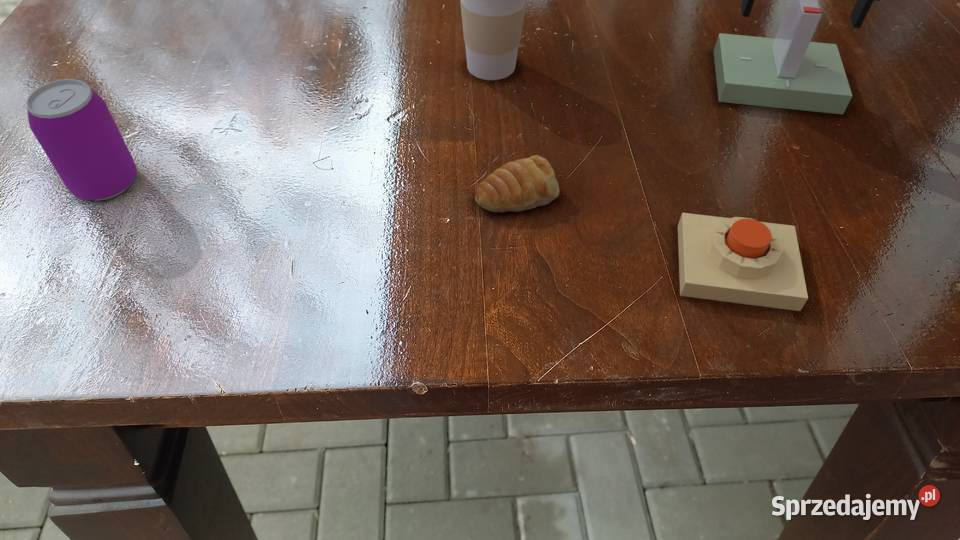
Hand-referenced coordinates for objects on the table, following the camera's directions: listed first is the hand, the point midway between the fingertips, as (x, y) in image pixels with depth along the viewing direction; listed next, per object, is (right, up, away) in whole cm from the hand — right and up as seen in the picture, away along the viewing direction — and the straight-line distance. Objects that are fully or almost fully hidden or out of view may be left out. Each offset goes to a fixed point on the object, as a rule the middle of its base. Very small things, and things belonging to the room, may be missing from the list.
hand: (799, 17), depth 88 cm
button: (-13, -29, -17) cm, 36 cm away
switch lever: (0, -4, +5) cm, 7 cm away
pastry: (-36, -23, -7) cm, 44 cm away
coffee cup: (-39, -4, +9) cm, 40 cm away
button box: (-13, -32, -14) cm, 37 cm away
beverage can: (-84, -22, -7) cm, 87 cm away
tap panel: (0, -6, +7) cm, 10 cm away
